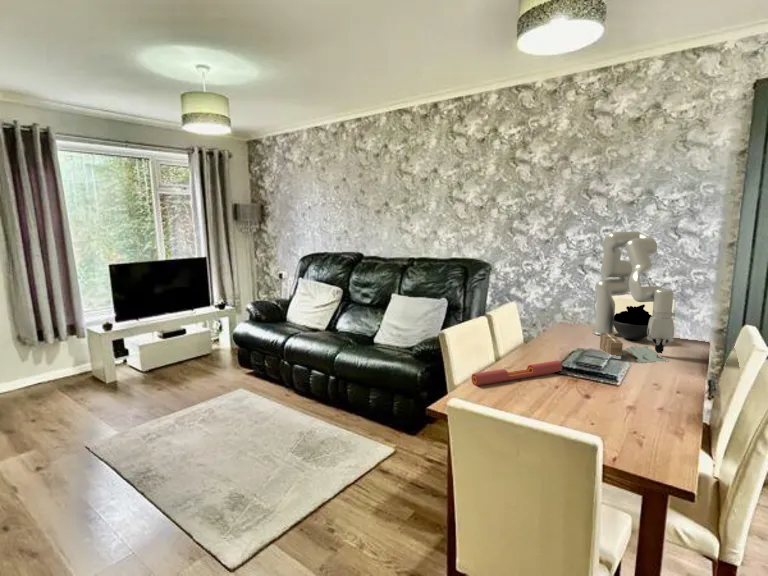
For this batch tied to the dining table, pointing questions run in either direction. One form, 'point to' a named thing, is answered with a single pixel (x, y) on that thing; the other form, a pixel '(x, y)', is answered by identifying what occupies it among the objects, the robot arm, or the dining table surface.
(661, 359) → the metal bracket
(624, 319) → the bowl of black rocks
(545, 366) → the blood vessel
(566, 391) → the dining table surface
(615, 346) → the block
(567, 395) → the dining table surface
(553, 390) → the dining table surface
